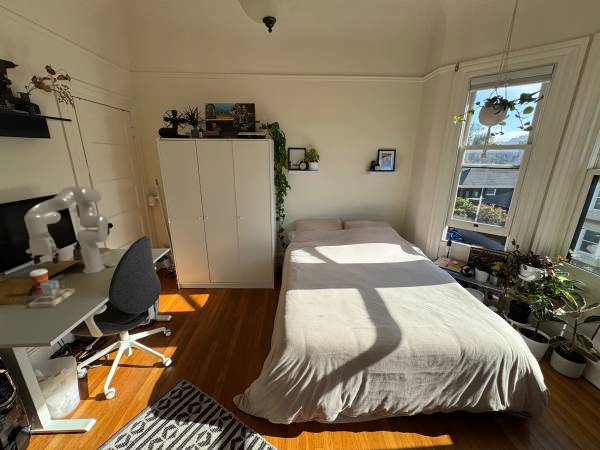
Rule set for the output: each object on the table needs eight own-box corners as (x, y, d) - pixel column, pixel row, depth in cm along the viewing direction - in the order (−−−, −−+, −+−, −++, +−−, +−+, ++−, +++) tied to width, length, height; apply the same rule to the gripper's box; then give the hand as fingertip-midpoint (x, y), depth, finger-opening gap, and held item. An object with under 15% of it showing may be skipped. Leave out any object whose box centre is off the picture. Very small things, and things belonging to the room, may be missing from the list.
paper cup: (41, 295, 147) (35, 274, 144) (31, 293, 149) (25, 273, 145) (56, 289, 155) (50, 269, 151) (46, 287, 156) (41, 267, 152)
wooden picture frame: (53, 292, 151) (52, 288, 150) (74, 291, 152) (74, 288, 151) (29, 307, 135) (28, 303, 135) (53, 306, 137) (52, 302, 136)
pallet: (52, 291, 147) (49, 279, 145) (65, 291, 148) (62, 278, 146) (39, 299, 138) (35, 286, 136) (52, 299, 139) (49, 286, 137)
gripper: (62, 233, 140) (68, 260, 144) (28, 233, 138) (36, 260, 142) (50, 237, 133) (58, 265, 137) (15, 237, 130) (24, 266, 135)
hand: (47, 263), depth 140 cm, fingers open, 9 cm apart
